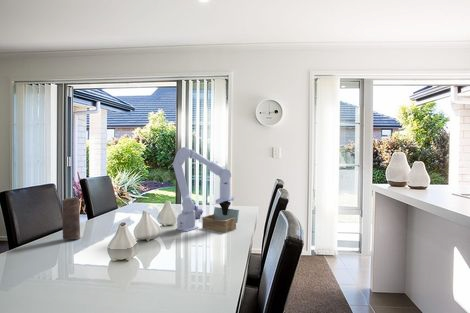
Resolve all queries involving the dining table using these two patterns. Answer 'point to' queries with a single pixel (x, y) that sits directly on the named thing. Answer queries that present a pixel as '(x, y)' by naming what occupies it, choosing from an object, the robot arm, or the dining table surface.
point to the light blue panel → (230, 214)
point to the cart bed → (218, 224)
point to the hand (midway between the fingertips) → (224, 214)
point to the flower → (198, 212)
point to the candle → (71, 218)
